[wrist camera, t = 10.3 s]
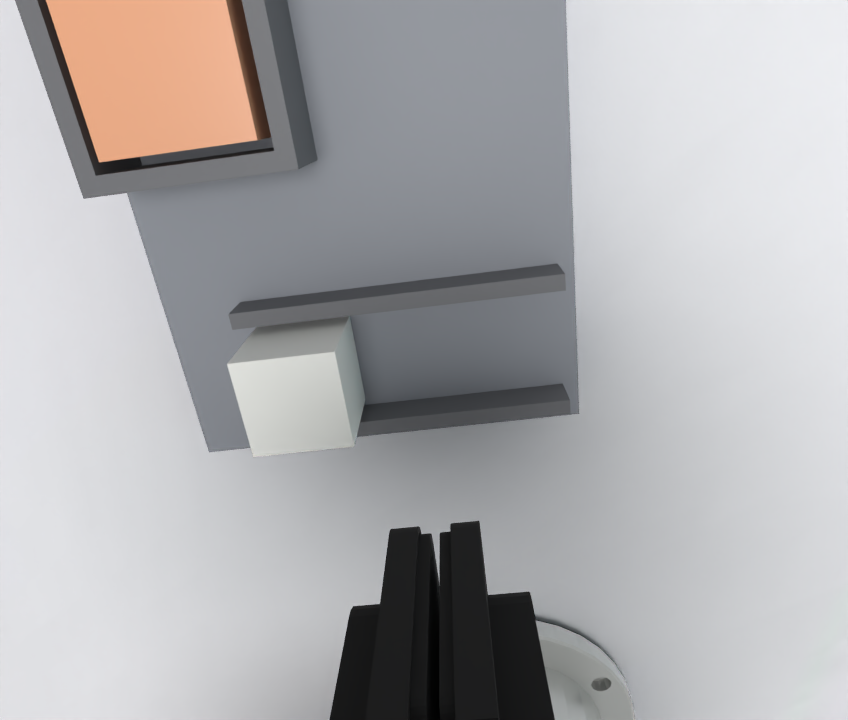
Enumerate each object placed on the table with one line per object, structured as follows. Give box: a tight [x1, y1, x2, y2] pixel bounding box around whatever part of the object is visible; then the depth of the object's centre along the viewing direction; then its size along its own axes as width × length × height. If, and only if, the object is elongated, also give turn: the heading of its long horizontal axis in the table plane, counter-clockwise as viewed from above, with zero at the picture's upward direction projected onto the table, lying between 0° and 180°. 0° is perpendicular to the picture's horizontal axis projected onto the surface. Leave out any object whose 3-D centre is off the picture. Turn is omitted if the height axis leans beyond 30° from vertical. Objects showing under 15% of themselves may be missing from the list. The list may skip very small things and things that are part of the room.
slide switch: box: [227, 316, 365, 457], centre depth 18 cm, size 3×3×3 cm
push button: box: [46, 0, 271, 162], centre depth 15 cm, size 4×4×2 cm
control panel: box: [15, 0, 579, 452], centre depth 17 cm, size 18×13×5 cm
